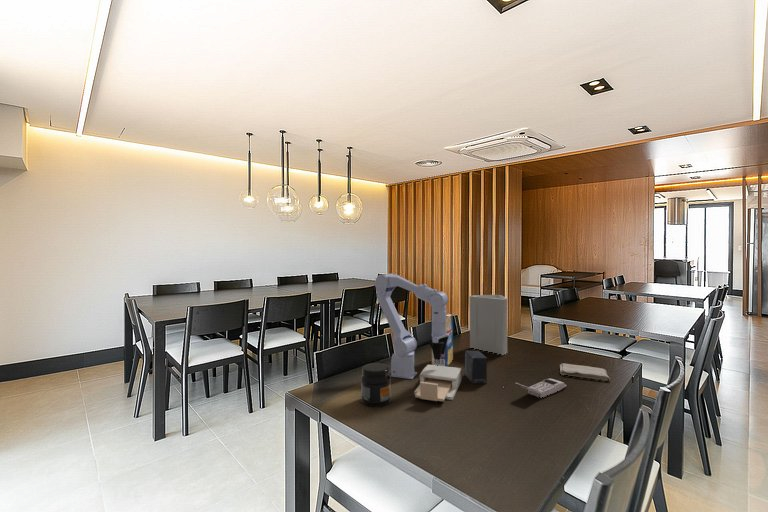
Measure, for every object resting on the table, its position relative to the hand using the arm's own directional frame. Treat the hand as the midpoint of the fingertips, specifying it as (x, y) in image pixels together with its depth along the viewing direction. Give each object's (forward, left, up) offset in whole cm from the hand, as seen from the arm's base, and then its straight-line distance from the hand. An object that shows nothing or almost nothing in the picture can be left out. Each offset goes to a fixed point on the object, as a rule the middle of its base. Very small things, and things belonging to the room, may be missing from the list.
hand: (439, 356), depth 143 cm
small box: (+13, +9, -11) cm, 19 cm away
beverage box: (-4, +25, -11) cm, 27 cm away
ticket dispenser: (+1, -5, -10) cm, 12 cm away
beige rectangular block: (+1, -13, -9) cm, 16 cm away
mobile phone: (+38, +3, -11) cm, 39 cm away
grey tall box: (+16, +57, -11) cm, 60 cm away
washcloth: (+55, +30, -11) cm, 63 cm away
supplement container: (-17, -25, -11) cm, 32 cm away
